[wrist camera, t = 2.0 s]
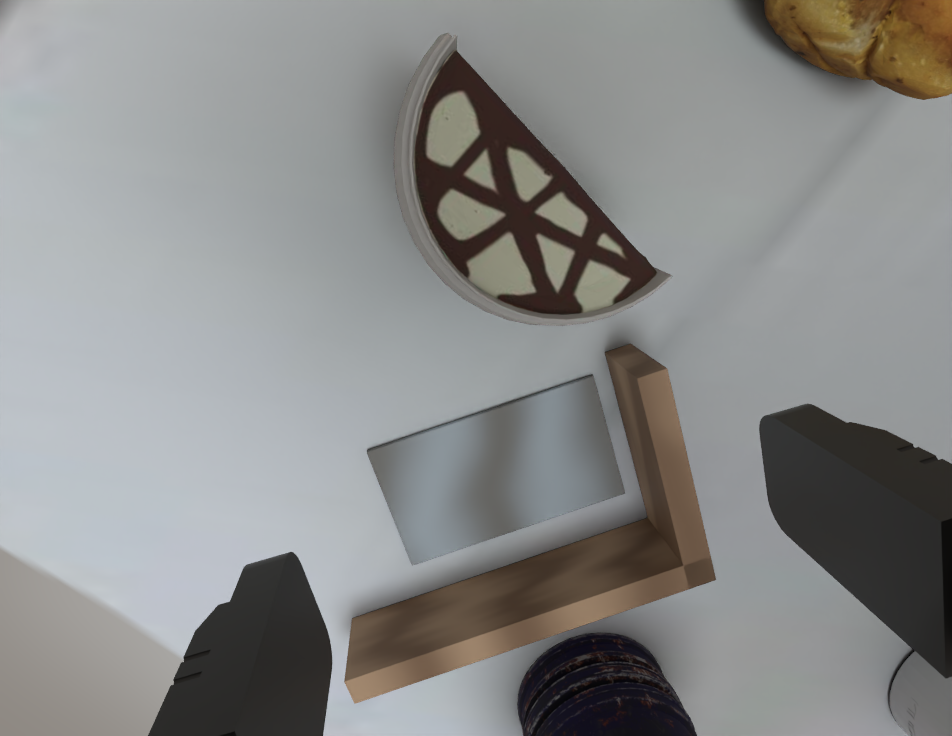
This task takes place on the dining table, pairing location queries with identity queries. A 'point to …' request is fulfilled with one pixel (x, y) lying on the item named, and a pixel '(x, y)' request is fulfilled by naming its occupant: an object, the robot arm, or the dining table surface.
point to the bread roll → (872, 40)
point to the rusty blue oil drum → (600, 691)
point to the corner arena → (523, 504)
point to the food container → (504, 206)
